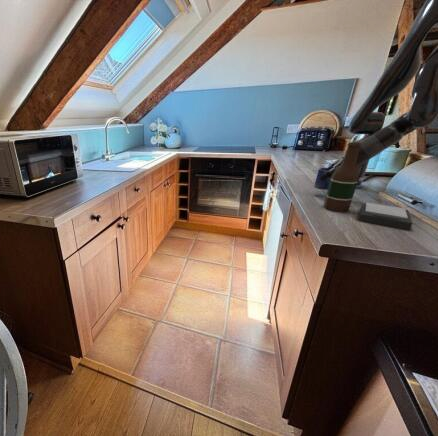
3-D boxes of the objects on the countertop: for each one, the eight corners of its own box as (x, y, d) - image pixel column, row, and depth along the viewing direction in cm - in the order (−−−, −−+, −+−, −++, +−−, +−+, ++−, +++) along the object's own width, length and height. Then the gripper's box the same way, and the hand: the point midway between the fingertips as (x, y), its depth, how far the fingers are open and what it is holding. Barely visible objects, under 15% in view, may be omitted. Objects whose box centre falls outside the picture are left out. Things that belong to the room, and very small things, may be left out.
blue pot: (315, 185, 109) (319, 167, 106) (332, 187, 105) (337, 168, 102) (312, 188, 105) (317, 169, 101) (330, 190, 101) (335, 171, 98)
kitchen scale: (360, 209, 90) (363, 201, 89) (405, 216, 83) (409, 208, 82) (358, 220, 81) (361, 212, 80) (409, 230, 73) (413, 221, 72)
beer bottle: (325, 203, 97) (343, 140, 87) (350, 208, 91) (371, 141, 82) (320, 208, 92) (338, 142, 82) (346, 213, 86) (368, 143, 77)
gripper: (355, 141, 99) (314, 167, 110) (361, 145, 88) (315, 174, 98) (367, 155, 99) (325, 180, 109) (375, 160, 88) (327, 188, 98)
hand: (320, 177), depth 104 cm, fingers closed on blue pot, 6 cm apart
